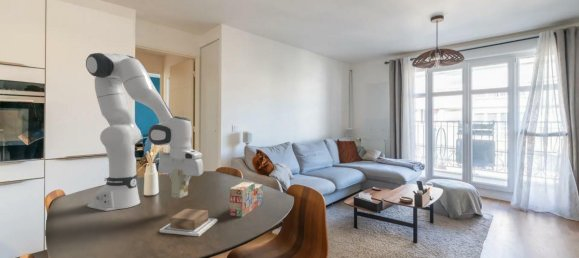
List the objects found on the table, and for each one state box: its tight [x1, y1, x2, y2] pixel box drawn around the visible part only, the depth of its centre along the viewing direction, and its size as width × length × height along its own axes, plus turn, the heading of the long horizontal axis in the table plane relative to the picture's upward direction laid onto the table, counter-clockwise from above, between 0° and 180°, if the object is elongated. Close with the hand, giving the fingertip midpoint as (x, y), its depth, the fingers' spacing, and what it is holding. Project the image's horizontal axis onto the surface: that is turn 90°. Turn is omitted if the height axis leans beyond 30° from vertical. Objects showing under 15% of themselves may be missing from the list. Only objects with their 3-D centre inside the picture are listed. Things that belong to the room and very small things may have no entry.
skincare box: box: [170, 169, 189, 199], centre depth 115 cm, size 6×4×12 cm
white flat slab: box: [159, 217, 218, 237], centre depth 101 cm, size 16×14×1 cm
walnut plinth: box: [169, 208, 209, 231], centre depth 101 cm, size 10×10×4 cm
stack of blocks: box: [229, 181, 264, 218], centre depth 122 cm, size 21×6×12 cm, turn 161°
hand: (180, 184), depth 115 cm, fingers closed on skincare box, 4 cm apart
